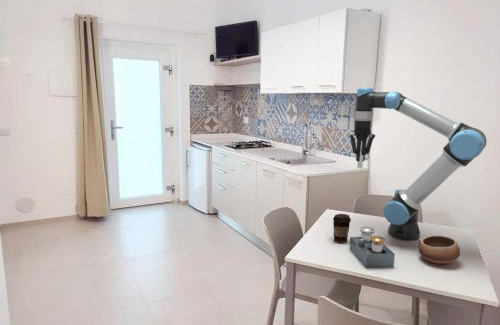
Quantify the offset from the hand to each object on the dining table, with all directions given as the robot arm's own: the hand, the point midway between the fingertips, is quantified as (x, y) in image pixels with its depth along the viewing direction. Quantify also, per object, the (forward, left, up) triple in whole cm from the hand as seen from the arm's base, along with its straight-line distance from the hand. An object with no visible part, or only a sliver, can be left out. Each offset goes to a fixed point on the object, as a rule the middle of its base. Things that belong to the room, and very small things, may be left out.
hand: (359, 167), depth 187 cm
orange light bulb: (+4, +34, -33) cm, 48 cm away
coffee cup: (+11, +10, -35) cm, 38 cm away
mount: (+4, +29, -34) cm, 45 cm away
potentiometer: (+8, +29, -28) cm, 41 cm away
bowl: (-24, +34, -35) cm, 54 cm away
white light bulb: (+4, +23, -33) cm, 41 cm away
